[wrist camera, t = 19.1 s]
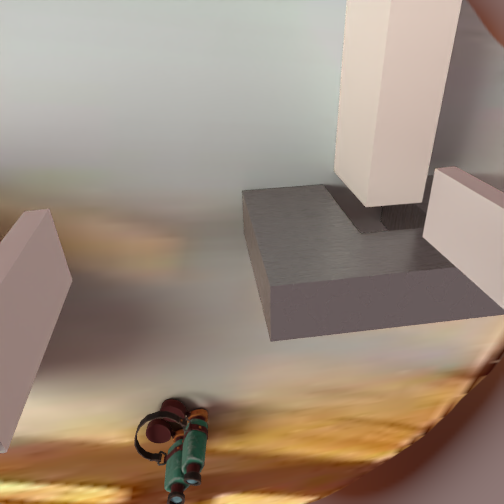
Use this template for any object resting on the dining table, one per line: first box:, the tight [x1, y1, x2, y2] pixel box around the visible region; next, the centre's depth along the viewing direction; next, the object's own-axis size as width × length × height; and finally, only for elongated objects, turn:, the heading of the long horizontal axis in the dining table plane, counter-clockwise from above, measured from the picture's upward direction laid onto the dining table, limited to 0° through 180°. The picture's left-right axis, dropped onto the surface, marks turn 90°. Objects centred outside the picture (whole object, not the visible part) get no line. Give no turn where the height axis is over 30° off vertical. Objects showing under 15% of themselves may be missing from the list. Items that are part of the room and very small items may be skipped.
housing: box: [242, 176, 504, 341], centre depth 37 cm, size 5×24×17 cm, turn 92°
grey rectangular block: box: [334, 0, 462, 207], centre depth 33 cm, size 23×5×9 cm, turn 2°
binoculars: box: [135, 399, 208, 504], centre depth 54 cm, size 9×11×10 cm
